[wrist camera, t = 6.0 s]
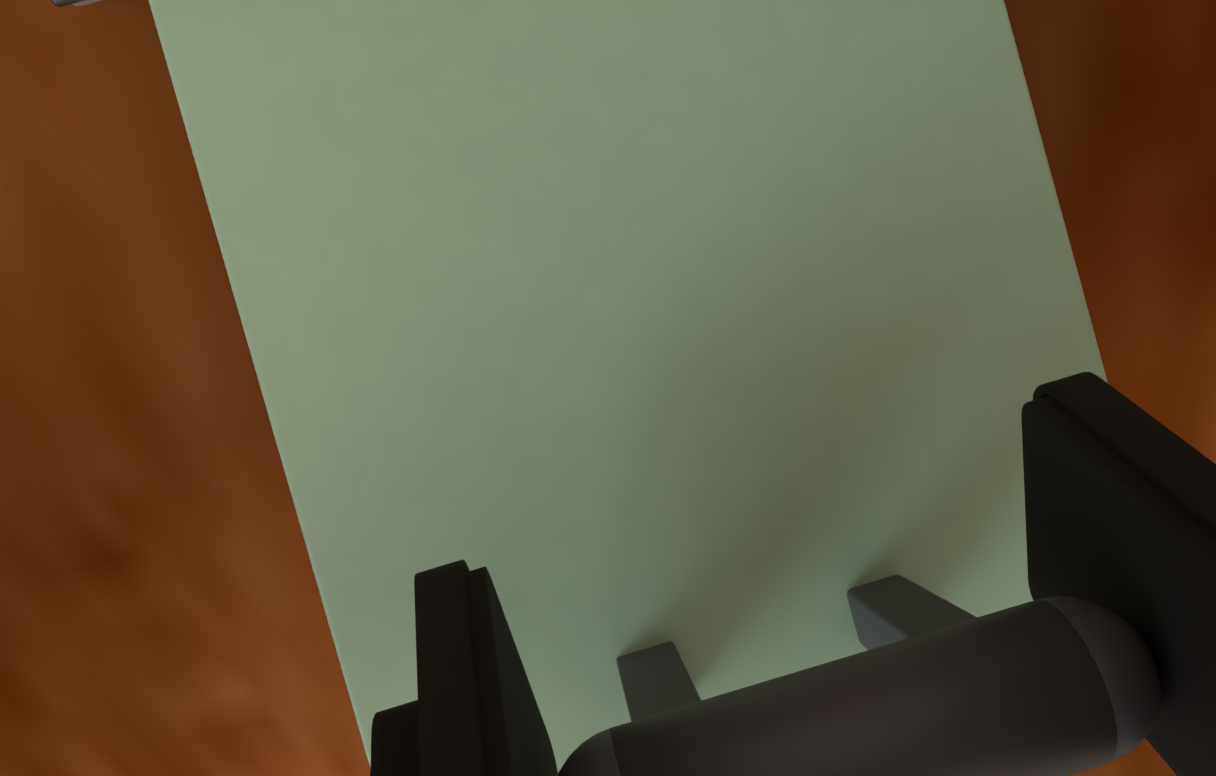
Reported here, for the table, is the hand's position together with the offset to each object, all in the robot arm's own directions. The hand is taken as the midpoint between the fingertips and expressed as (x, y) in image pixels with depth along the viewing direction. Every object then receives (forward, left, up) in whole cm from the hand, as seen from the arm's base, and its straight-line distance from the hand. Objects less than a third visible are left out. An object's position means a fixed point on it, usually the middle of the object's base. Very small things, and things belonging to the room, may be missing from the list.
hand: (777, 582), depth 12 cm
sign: (-1, 0, -4) cm, 4 cm away
